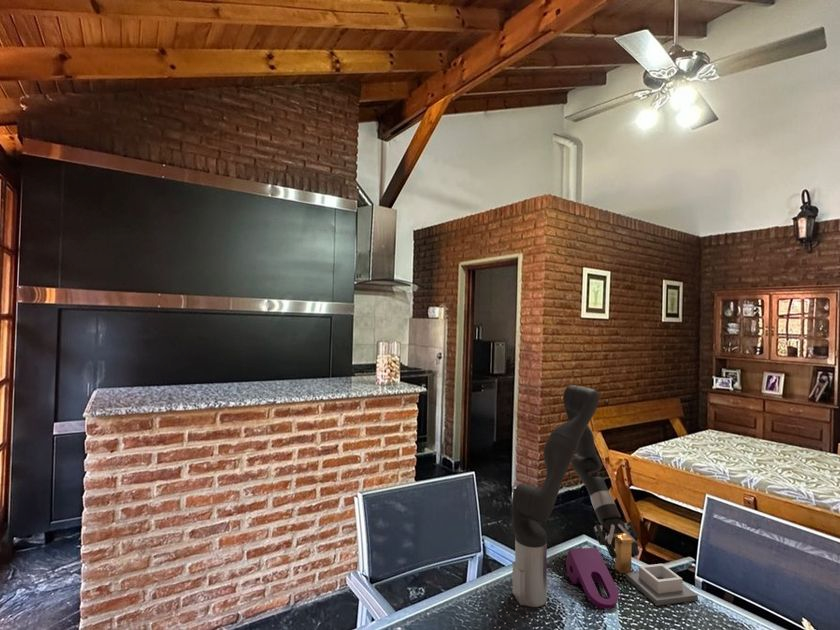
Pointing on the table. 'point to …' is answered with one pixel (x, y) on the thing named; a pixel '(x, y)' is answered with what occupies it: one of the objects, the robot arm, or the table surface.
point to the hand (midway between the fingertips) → (625, 556)
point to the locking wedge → (623, 552)
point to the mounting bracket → (591, 575)
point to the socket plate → (661, 585)
